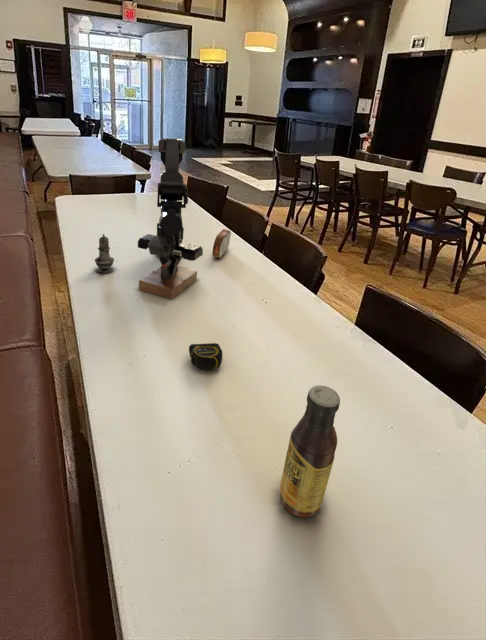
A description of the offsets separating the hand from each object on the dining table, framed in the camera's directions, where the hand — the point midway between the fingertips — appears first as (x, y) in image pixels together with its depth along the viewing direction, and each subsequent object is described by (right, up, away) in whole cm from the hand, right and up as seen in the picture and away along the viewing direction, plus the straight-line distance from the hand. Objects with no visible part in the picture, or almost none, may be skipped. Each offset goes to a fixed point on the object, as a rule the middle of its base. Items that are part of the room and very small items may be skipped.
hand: (169, 273), depth 122 cm
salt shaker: (-21, +1, +7) cm, 22 cm away
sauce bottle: (+27, -31, -62) cm, 74 cm away
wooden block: (0, -3, +1) cm, 4 cm away
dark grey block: (0, 0, 0) cm, 0 cm away
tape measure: (+12, -18, -33) cm, 39 cm away
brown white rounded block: (+15, +6, +28) cm, 32 cm away
